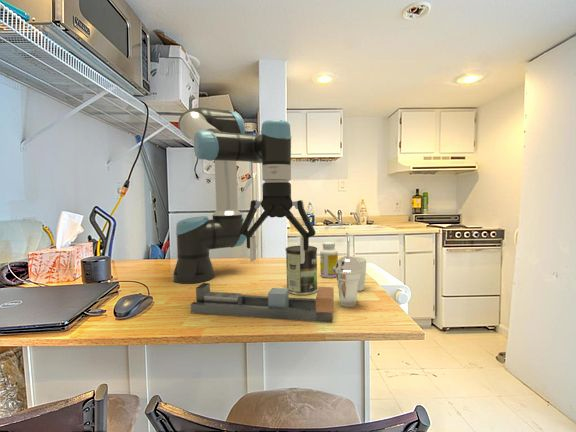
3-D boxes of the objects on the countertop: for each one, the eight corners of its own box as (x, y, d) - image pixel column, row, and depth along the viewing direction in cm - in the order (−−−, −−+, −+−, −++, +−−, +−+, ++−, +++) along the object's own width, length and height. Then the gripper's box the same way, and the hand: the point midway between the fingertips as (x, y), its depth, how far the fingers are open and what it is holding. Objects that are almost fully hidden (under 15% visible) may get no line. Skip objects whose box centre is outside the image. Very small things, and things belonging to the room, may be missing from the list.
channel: (190, 313, 81) (190, 291, 80) (206, 301, 89) (205, 281, 89) (332, 322, 73) (332, 298, 73) (333, 308, 82) (333, 287, 82)
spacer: (268, 315, 78) (267, 293, 78) (272, 308, 83) (272, 287, 82) (285, 316, 78) (285, 294, 77) (288, 309, 82) (288, 288, 82)
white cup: (361, 293, 94) (361, 262, 93) (338, 289, 98) (338, 260, 97) (369, 287, 100) (369, 257, 100) (347, 283, 105) (346, 255, 104)
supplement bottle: (340, 274, 116) (340, 242, 115) (333, 279, 110) (333, 245, 109) (324, 272, 119) (324, 241, 118) (317, 276, 114) (317, 243, 113)
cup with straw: (327, 305, 85) (327, 235, 83) (341, 296, 92) (340, 232, 90) (356, 311, 80) (356, 238, 78) (367, 301, 87) (368, 233, 86)
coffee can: (318, 285, 103) (318, 245, 101) (315, 296, 92) (315, 251, 91) (289, 284, 105) (289, 244, 103) (283, 294, 95) (282, 250, 93)
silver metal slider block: (196, 308, 83) (195, 287, 82) (204, 303, 87) (203, 283, 87) (237, 311, 80) (236, 289, 80) (243, 305, 85) (242, 284, 84)
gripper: (226, 182, 77) (228, 262, 79) (323, 181, 72) (323, 266, 74) (236, 182, 84) (238, 256, 86) (325, 181, 79) (325, 259, 81)
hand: (277, 261), depth 80 cm, fingers open, 13 cm apart
